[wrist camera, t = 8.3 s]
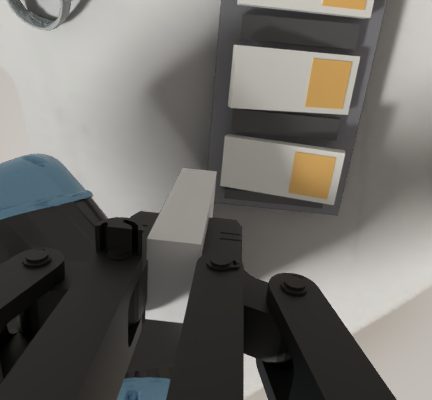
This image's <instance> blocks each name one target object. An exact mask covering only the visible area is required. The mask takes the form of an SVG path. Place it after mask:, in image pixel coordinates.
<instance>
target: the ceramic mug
mask: <svg viewBox="0 0 432 400" xmlns="http://www.w3.org/2000/svg"><path fill="white" fill-rule="evenodd" d="M6 1H7V3H8V4H9V6H10V8H11V10H12V11H13V12H14V13H15V14H16V15H17V16H18V17H19V18H20V19H21V20H22V21H24V22H25V23H27V24H28V25H30V26H32V27H34V28H37V29H41V30H52V29H55V28H57V27H58V26H59V25H60V24H62V23H63V22H64V21H65V20H66V18H67V17H68V14H69V11H70V6H71V0H61V8H60V13H59V16H58V18H57V20H55V21H52V20H49V19H46V18H44V17H41V16H38V15H36V14H35V13H33V12H32V11H28V10H27V9H26V8H25V7H24V6H23V4H22V3H21V1H20V0H6Z"/></svg>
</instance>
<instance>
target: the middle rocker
mask: <svg viewBox="0 0 432 400" xmlns="http://www.w3.org/2000/svg"><path fill="white" fill-rule="evenodd" d="M359 61H360V56H349V55H338V54H328V53H317V52H307V51H296V50H285V49H275V48H264V47H253V46H243V45H234V47H233V57H232V68H231V78H230V89H229V99H228V106H229V107H230V108H239V109H256V110H273V111H290V112H307V113H324V114H341V115H348V112H349V107H350V102H351V98H352V93H353V89H354V84H355V79H356V75H357V70H358V65H359Z"/></svg>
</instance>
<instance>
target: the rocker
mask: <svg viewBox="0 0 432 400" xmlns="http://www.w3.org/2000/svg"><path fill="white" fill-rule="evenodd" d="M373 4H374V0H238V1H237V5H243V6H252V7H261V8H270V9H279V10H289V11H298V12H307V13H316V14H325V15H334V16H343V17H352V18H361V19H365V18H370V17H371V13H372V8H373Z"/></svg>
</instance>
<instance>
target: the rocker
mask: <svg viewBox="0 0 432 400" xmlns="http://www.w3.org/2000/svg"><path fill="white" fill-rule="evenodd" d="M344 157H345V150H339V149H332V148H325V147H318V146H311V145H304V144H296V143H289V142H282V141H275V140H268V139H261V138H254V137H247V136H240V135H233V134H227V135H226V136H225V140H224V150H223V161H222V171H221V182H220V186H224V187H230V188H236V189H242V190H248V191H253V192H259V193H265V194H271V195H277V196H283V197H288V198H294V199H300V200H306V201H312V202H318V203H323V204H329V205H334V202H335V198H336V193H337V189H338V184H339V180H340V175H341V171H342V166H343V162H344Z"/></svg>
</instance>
